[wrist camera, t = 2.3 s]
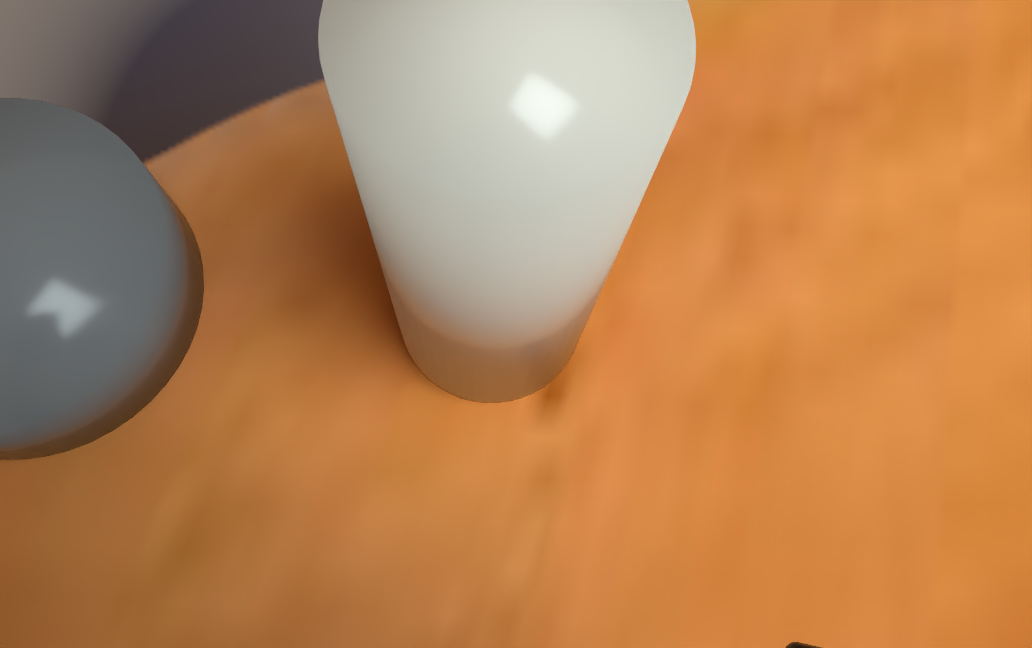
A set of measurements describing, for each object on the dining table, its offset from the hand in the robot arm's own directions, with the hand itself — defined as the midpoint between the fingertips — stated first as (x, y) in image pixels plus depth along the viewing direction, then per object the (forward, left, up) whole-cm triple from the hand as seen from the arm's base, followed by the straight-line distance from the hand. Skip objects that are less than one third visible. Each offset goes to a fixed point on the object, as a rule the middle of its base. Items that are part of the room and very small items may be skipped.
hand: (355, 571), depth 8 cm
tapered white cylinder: (0, -7, -13) cm, 15 cm away
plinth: (+12, -5, -13) cm, 19 cm away
